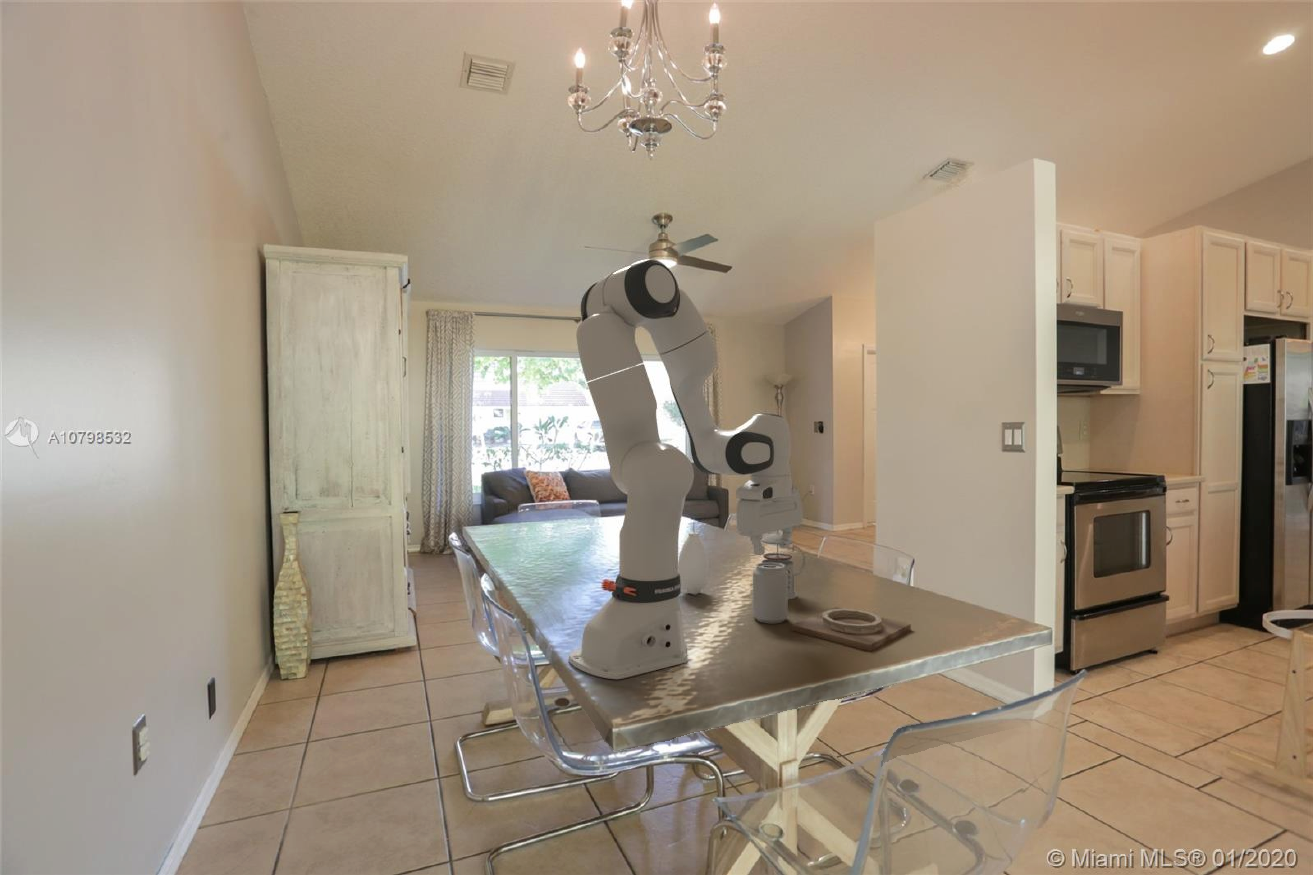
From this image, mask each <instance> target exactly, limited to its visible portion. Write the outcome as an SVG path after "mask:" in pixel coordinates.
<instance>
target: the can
mask: <svg viewBox="0 0 1313 875" xmlns="http://www.w3.org/2000/svg"><path fill="white" fill-rule="evenodd" d="M784 565H785V564H782V563H762V562H760V563H756V564H755V567H756V568H754V570H753V571H752V616H753V617H754V618H755V619H756V621H758V622H760V623H763V624H771V625H772V624H780V623H783V622H784V621H785V620H786V619H787V618H788V616H789V614H788V613H789V612H788V608H789V607H788V605H789V603H788V601H789V599H788V571H787V570H785V569H784V568H785V566H784Z"/></svg>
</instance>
